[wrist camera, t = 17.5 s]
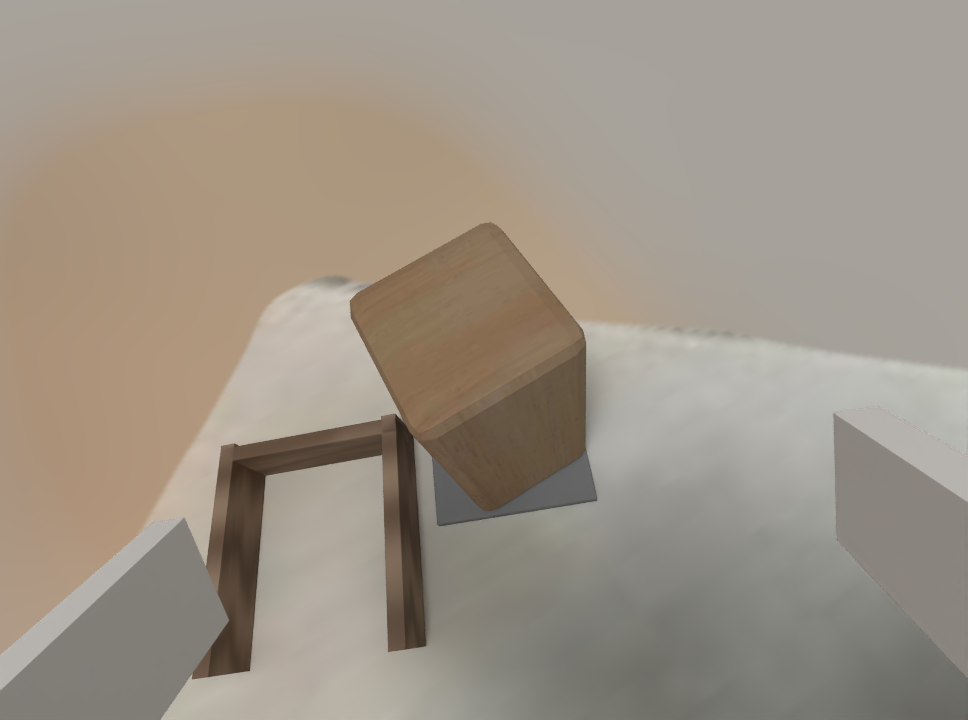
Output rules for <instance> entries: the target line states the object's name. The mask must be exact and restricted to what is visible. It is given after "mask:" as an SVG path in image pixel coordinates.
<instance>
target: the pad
mask: <svg viewBox="0 0 968 720" xmlns="http://www.w3.org/2000/svg"><path fill="white" fill-rule="evenodd" d="M432 461H433V474H434V487H435V500H436V513H437V525H439V526H445V525H451V524H457V523H463V522H469V521H475V520H482V519H488V518H494V517H500V516H506V515H512V514H519V513H525V512H531V511H537V510H543V509H549V508H555V507H562V506H568V505H574V504H580V503H586V502H592V501H597V496H596V492H595V487H594V483H593V479H592V474H591V470H590V465H589V461H588V457H587V452H586V448H585V451H584V452H583V454H582V455H581V456H580V457H579V458H578V459H576V460H575V461H573V462H571V463H570V464H568V465H567V466H565V467H563V468H562V469H560V470H558V471H557V472H555V473H554V474H552V475H550V476H549V477H547V478H546V479H544V480H542V481H541V482H539V483H537V484H536V485H534V486H533V487H531V488H529V489H528V490H526V491H525V492H523V493H521V494H520V495H518V496H516V497H515V498H513V499H512V500H510V501H508V502H507V503H505V504H504V505H502V506H500V507H499V508H497V509H495V510H492V511H484V510H482V509H481V508H480V507H479V506H477V505H476V503H475V502H474V501H473V500H472V499H471V498H470V497H469V496H468V495H467V494H466V493H465V492H464V490H463V489H462V488H461V487H460V486H459V485H458V484H457V483H456V482H455V481H454V480H453V479H452V477H451V476H450V475H449V474H448V473H447V472H446V471H445V470H444V469H443V468H442V467H441V466H440V464H439V463H438V462H437V461H436V460H435V459H434V458H433V457H432Z"/></svg>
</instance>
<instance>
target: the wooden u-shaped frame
mask: <svg viewBox="0 0 968 720" xmlns="http://www.w3.org/2000/svg"><path fill="white" fill-rule="evenodd" d="M378 455H382V460H383V493H384V527H385V560H386V594H387V627H388V652H391V651H398V650H405V649H411V648H418V647H424V646H426V639H425V623H424V606H423V590H422V573H421V557H420V540H419V524H418V507H417V491H416V474H415V458H414V441H413V435H412V434H411V433H410V432H409V430H408V428H407V426H406V425H405V424H404V423H403V422H402V421H401V420H400V418H399V417H398V416H397V415H396V414H391V415H386V416H381V420H377V421H372V422H366V423H361V424H355V425H350V426H345V427H339V428H334V429H328V430H323V431H318V432H312V433H307V434H301V435H296V436H291V437H285V438H280V439H274V440H269V441H264V442H258V443H253V444H247V445H242V446H238V445H236V444H230V445H224V446H221V453H220V461H219V469H218V477H217V485H216V493H215V501H214V509H213V517H212V525H211V533H210V540H209V548H208V556H207V564H206V568H207V571H208V573H209V575H210V577H211V580H212V582H213V584H214V587H215V589H216V591H217V594H218V596H219V598H220V600H221V603H222V605H223V607H224V610H225V612H226V614H227V617H228V619H229V621H228V623H227V624H226V626H225V627H224V629H223V630H222V631H221V633H220V634H219V636H218V637H217V639H216V640H215V642H214V643H213V644H212V646H211V647H210V649H209V650H208V652H207V653H206V654H205V656H204V657H203V659H202V660H201V662H200V663H199V665H198V666H197V667H196V669H195V670H194V672H193V675H192V679H198V678H205V677H212V676H218V675H225V674H232V673H239V672H245V671H250V659H251V647H252V634H253V622H254V610H255V597H256V585H257V573H258V560H259V548H260V536H261V523H262V511H263V499H264V486H265V476H266V475H272V474H277V473H283V472H288V471H294V470H300V469H305V468H311V467H316V466H322V465H328V464H333V463H339V462H345V461H350V460H356V459H361V458H367V457H373V456H378Z"/></svg>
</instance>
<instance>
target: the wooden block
mask: <svg viewBox="0 0 968 720" xmlns="http://www.w3.org/2000/svg"><path fill="white" fill-rule="evenodd" d="M350 310H351V319H352V321H353V323H354V325H355V327H356V329H357V330H358V332H359V334H360V336H361V338H362V340H363V342H364V344H365V346H366V348H367V350H368V352H369V354H370V356H371V358H372V360H373V362H374V364H375V365H376V367H377V369H378V371H379V373H380V375H381V377H382V379H383V381H384V383H385V385H386V387H387V389H388V391H389V393H390V395H391V397H392V399H393V401H394V402H395V404H396V406H397V408H398V410H399V412H400V414H401V416H402V418H403V420H404V422H405V424H406V426H407V428H408V430H409V432H410V433H411V434H412V435H413V436H414V437H415V438H416V440H417V441H418V442H419V443H420V444H421V445H422V446H423V447H424V448H425V449H426V450H427V451H428V453H429V454H430V455H431V456H432V457H433V458H434V459H435V460H436V461H437V462H438V463H439V464H440V466H441V467H442V468H443V469H444V470H445V471H446V472H447V473H448V474H449V475H450V476H451V477H452V479H453V480H454V481H455V482H456V483H457V484H458V485H459V486H460V487H461V488H462V489H463V490H464V492H465V493H466V494H467V495H468V496H469V497H470V498H471V499H472V500H473V501H474V502H475V503H476V505H477V506H479V507H480V508H481V509H482V510H484V511H492V510H495V509H497V508H499V507H500V506H502V505H504V504H505V503H507V502H508V501H510V500H512V499H513V498H515V497H516V496H518V495H520V494H521V493H523V492H525V491H526V490H528V489H529V488H531V487H533V486H534V485H536V484H537V483H539V482H541V481H542V480H544V479H546V478H547V477H549V476H550V475H552V474H554V473H555V472H557V471H558V470H560V469H562V468H563V467H565V466H567V465H568V464H570V463H571V462H573V461H575V460H576V459H578V458H579V457H580V456H581V455H582V454H583V452H584V451H585V412H586V341H585V337H584V333H583V330H582V328H581V327H580V326H579V325H578V323H577V322H576V321H575V320H574V318H573V317H572V316H571V315H570V314H569V312H568V311H567V310H566V308H565V307H564V306H563V305H562V304H561V302H560V301H559V300H558V299H557V298H556V296H555V295H554V294H553V293H552V291H551V290H550V289H549V288H548V286H547V285H546V284H545V283H544V281H543V280H542V279H541V278H540V277H539V275H538V274H537V273H536V271H535V270H534V269H533V268H532V267H531V265H530V264H529V263H528V261H527V260H526V259H525V258H524V257H523V255H522V254H521V253H520V252H519V250H518V249H517V248H516V247H515V245H514V244H513V243H512V242H511V240H509V238H508V237H507V236H506V234H505V233H504V232H503V231H502V230H501V229H500V228H499V227H498V226H497V225H495V224H493V223H491V222H490V223H485V224H480V225H478V226H476V227H475V228H473V229H471V230H469V231H468V232H466V233H464V234H462V235H460V236H459V237H457V238H455V239H453V240H451V241H450V242H448V243H446V244H444V245H442V246H441V247H439V248H437V249H435V250H434V251H432V252H430V253H428V254H426V255H425V256H423V257H421V258H419V259H417V260H416V261H414V262H412V263H410V264H408V265H407V266H405V267H403V268H401V269H400V270H398V271H396V272H394V273H392V274H391V275H389V276H387V277H385V278H383V279H382V280H380V281H378V282H376V283H374V284H373V285H371V286H369V287H367V288H365V289H364V290H362V291H360V292H358V293H357V294H356V295H355V296H354V297H353V298H352V299H351V300H350Z"/></svg>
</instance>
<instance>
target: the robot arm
mask: <svg viewBox="0 0 968 720" xmlns="http://www.w3.org/2000/svg"><path fill="white" fill-rule="evenodd" d="M833 417H834V456H835V495H836V533H837V541H838V542H839V543H840V544H841V545H842V546H843V547H844V548H845V549H846V550H847V551H848V552H849V554H850V555H851V556H852V557H853V558H854V559H855V560H856V561H857V562H858V563H859V564H860V565H861V566H862V567H863V568H864V569H865V570H866V571H867V573H868V574H869V575H870V576H871V577H872V578H873V579H874V580H875V581H876V582H877V583H878V584H879V585H880V586H881V587H882V588H883V589H884V591H885V592H886V593H887V594H888V595H889V596H890V597H891V598H892V599H893V600H894V601H895V602H896V603H897V604H898V605H899V606H900V607H901V608H902V610H903V611H904V612H905V613H906V614H907V615H908V616H909V617H910V618H911V619H912V620H913V621H914V622H915V623H916V624H917V625H918V626H919V628H920V629H921V630H922V631H923V632H924V633H925V634H926V635H927V636H928V637H929V638H930V639H931V640H932V641H933V642H934V643H935V644H936V645H937V647H938V648H939V649H940V650H941V651H942V652H943V653H944V654H945V655H946V656H947V657H948V658H949V659H950V660H951V661H952V662H953V663H954V665H955V666H956V667H957V668H958V669H959V670H960V671H961V672H962V673H963V674H964V675H965V676H966V677H967V678H968V456H967V455H965V454H963V453H962V452H960V451H958V450H956V449H955V448H953V447H951V446H949V445H947V444H946V443H944V442H942V441H940V440H939V439H937V438H935V437H933V436H931V435H930V434H928V433H926V432H924V431H922V430H921V429H919V428H917V427H915V426H914V425H912V424H910V423H908V422H906V421H905V420H903V419H901V418H899V417H898V416H896V415H894V414H892V413H890V412H889V411H887V410H885V409H883V408H882V407H880V406H873V407H867V408H861V409H854V410H848V411H842V412H836V413H833ZM228 621H229V619H228V617H227V614H226V612H225V610H224V607H223V605H222V603H221V600H220V598H219V596H218V594H217V591H216V589H215V587H214V584H213V582H212V580H211V577H210V575H209V573H208V571H207V568H206V566H205V564H204V561H203V559H202V557H201V554H200V552H199V550H198V548H197V545H196V543H195V541H194V538H193V536H192V534H191V532H190V529H189V527H188V525H187V522H186V520H185V518H179V519H173V520H166V521H160V522H154V523H152V524H150V525H149V526H148V527H147V528H146V529H145V530H144V531H142V532H141V533H140V534H139V535H138V536H137V537H135V538H134V539H133V540H132V541H131V542H130V543H129V544H127V545H126V546H125V547H124V548H123V549H122V550H121V551H119V552H118V553H117V554H116V555H115V556H114V557H113V558H111V559H110V560H109V561H108V562H107V563H106V564H105V565H103V566H102V567H101V568H100V569H99V570H98V571H96V573H94V574H93V575H92V576H91V577H90V578H89V579H87V580H86V581H85V582H84V583H83V584H82V585H80V586H79V587H78V588H77V589H76V590H75V591H73V592H72V593H71V594H70V595H69V596H68V597H67V598H65V599H64V600H63V601H62V602H61V603H60V604H59V605H57V606H56V607H55V608H54V609H53V610H52V611H51V612H49V613H48V614H47V615H46V616H45V617H44V618H43V619H41V620H40V621H39V622H38V623H37V624H36V625H35V626H33V627H32V628H31V629H30V630H29V631H28V632H27V633H25V634H24V635H23V636H22V637H21V638H20V639H19V640H17V641H16V642H15V643H14V644H13V645H12V646H11V647H9V648H8V649H7V650H6V651H5V652H4V653H2V654H1V655H0V720H160V719H161V718H162V716H163V715H164V714H165V712H166V711H167V709H168V708H169V706H170V705H171V703H172V702H173V701H174V699H175V698H176V696H177V695H178V693H179V692H180V690H181V689H182V688H183V686H184V685H185V683H186V682H187V680H188V679H189V678H190V676H191V675H192V673H193V672H194V670H195V669H196V667H197V666H198V665H199V663H200V662H201V660H202V659H203V657H204V656H205V654H206V653H207V652H208V650H209V649H210V647H211V646H212V644H213V643H214V642H215V640H216V639H217V637H218V636H219V634H220V633H221V631H222V630H223V629H224V627H225V626H226V624H227V623H228Z"/></svg>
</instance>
